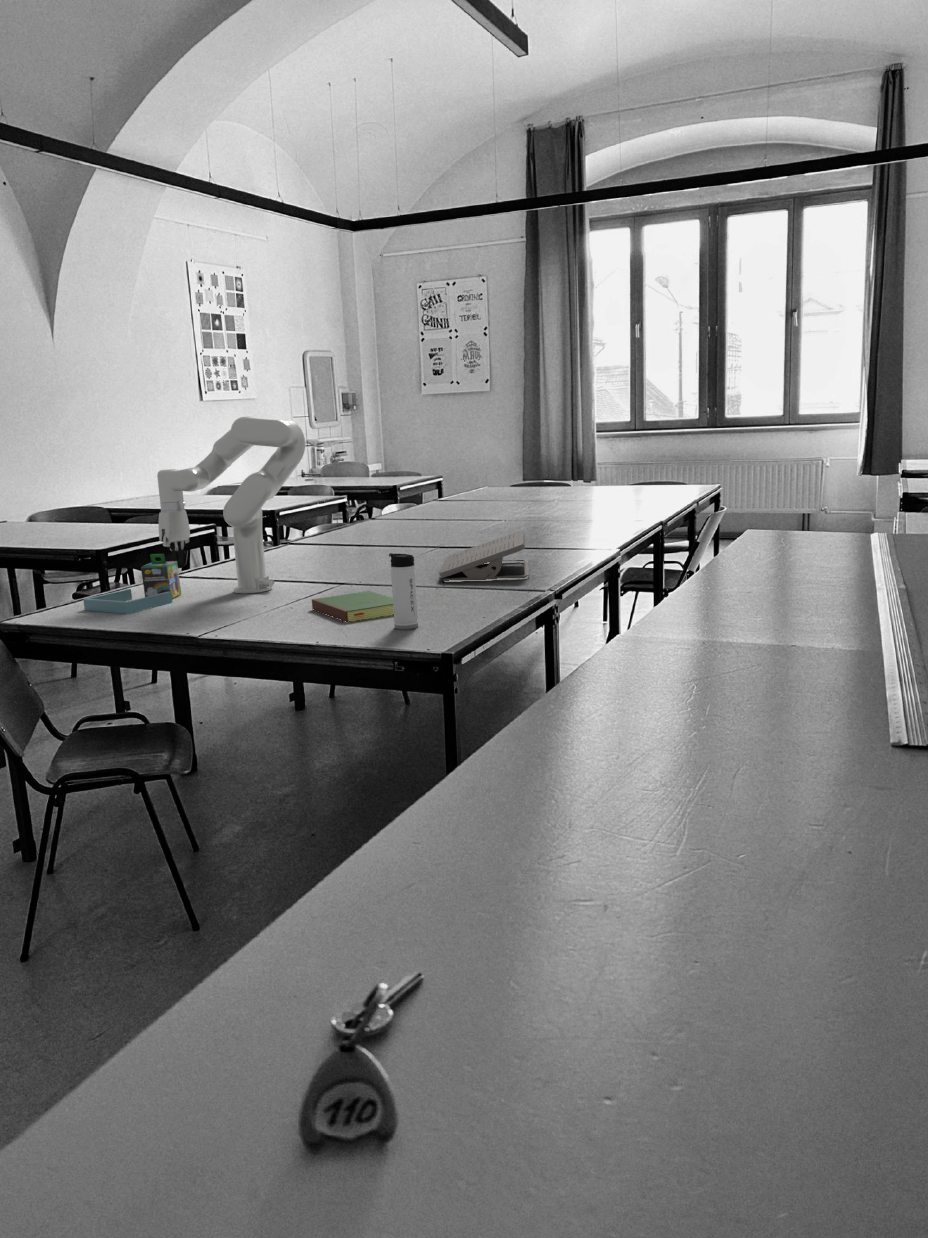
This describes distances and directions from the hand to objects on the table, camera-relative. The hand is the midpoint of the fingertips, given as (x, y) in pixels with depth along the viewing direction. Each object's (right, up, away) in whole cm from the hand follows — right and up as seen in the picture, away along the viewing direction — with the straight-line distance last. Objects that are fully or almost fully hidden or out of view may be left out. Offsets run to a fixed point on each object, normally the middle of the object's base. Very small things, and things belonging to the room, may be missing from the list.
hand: (178, 561), depth 331 cm
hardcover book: (+65, -18, -43) cm, 80 cm away
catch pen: (-10, -15, -17) cm, 25 cm away
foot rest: (+103, -4, +14) cm, 104 cm away
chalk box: (-4, -12, -5) cm, 14 cm away
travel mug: (+80, -22, -67) cm, 107 cm away
